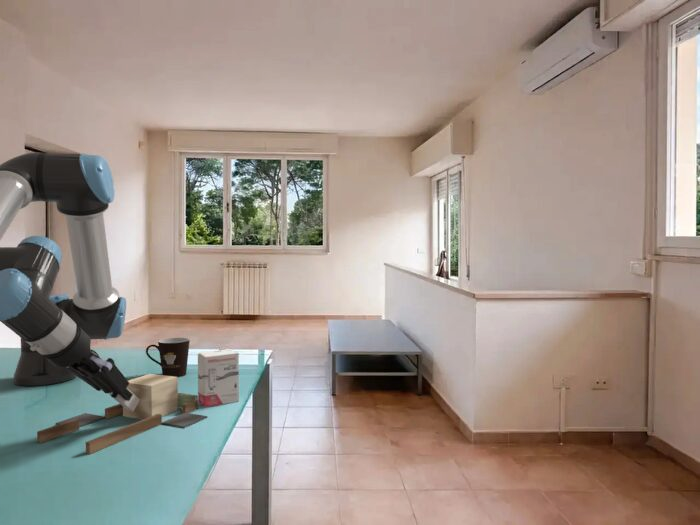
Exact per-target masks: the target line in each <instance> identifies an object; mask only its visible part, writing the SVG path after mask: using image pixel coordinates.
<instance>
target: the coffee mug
mask: <svg viewBox="0 0 700 525" xmlns="http://www.w3.org/2000/svg"><path fill="white" fill-rule="evenodd" d="M190 341H191V340H190V338H187V337H169V338H162V339H159V340H158V341H157V344H149V345H148V346H147V347H146V349H145V354H146V356H147V357H148V358H149V359H150V360H151V361H153V362H154V363H156V364H157V365H159V366H160V367H161V374H162V375H165V376H173V377H178V378H181V377H184V376H187V369H188V359H189V352H190V351H189V350H190ZM153 347H154V348H156V349H157V350H158V352H159V358H160V362H159V361H158V360H157V359H155V358H154V357H152V356H151V355H150V353H149V349H150V348H153Z"/></svg>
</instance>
